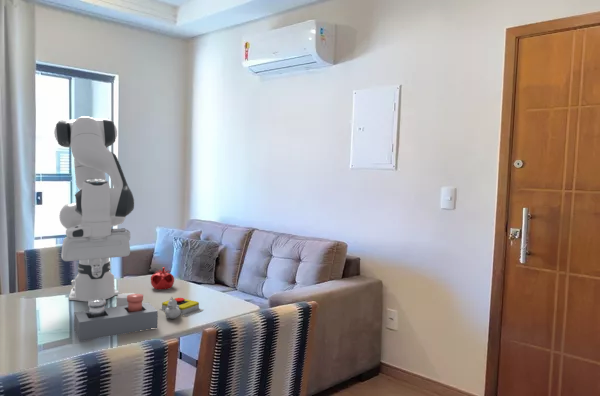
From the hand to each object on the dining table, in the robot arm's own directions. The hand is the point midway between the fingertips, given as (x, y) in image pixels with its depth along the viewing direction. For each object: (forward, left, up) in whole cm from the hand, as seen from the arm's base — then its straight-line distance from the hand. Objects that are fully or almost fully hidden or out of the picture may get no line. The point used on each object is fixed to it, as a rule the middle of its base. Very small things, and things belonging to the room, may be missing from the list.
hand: (96, 272), depth 152 cm
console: (0, +6, -20) cm, 21 cm away
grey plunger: (0, 0, -14) cm, 14 cm away
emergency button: (-11, +31, -21) cm, 39 cm away
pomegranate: (-43, +34, -20) cm, 59 cm away
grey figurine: (-3, +26, -20) cm, 33 cm away
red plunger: (0, +12, -14) cm, 19 cm away
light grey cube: (-18, +13, -20) cm, 30 cm away
